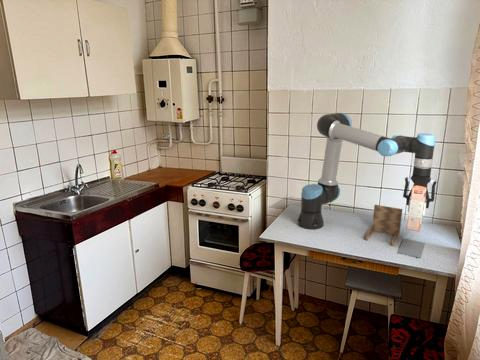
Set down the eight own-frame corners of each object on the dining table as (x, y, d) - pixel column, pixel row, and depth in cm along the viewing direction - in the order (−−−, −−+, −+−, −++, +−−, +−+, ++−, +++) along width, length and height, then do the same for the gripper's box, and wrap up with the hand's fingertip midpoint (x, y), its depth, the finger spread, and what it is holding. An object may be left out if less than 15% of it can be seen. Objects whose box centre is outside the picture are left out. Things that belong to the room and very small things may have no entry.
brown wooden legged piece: (365, 240, 184) (367, 213, 180) (372, 229, 197) (374, 204, 193) (394, 246, 176) (397, 218, 172) (399, 234, 189) (402, 209, 185)
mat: (397, 253, 169) (397, 252, 169) (403, 239, 184) (403, 238, 184) (420, 258, 164) (420, 257, 164) (424, 244, 178) (424, 242, 178)
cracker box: (420, 232, 163) (425, 190, 158) (406, 229, 166) (411, 188, 161) (423, 222, 175) (428, 182, 169) (409, 220, 178) (414, 181, 172)
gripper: (399, 166, 164) (394, 211, 171) (445, 170, 154) (437, 219, 161) (401, 163, 170) (396, 207, 177) (446, 167, 160) (439, 214, 167)
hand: (416, 212), depth 169 cm, fingers closed on cracker box, 6 cm apart
